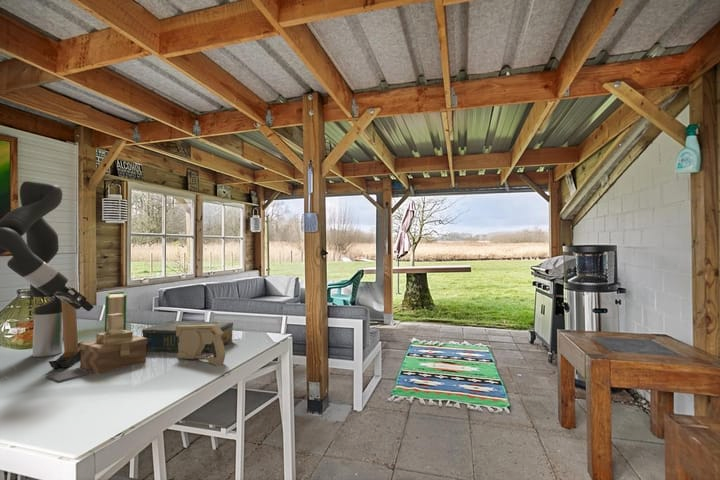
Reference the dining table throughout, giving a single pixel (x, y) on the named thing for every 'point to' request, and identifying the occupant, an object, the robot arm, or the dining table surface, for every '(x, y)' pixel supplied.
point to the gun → (200, 342)
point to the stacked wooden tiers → (112, 351)
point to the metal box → (167, 341)
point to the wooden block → (115, 323)
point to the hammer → (69, 338)
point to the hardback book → (115, 305)
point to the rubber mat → (68, 374)
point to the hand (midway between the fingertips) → (85, 308)
